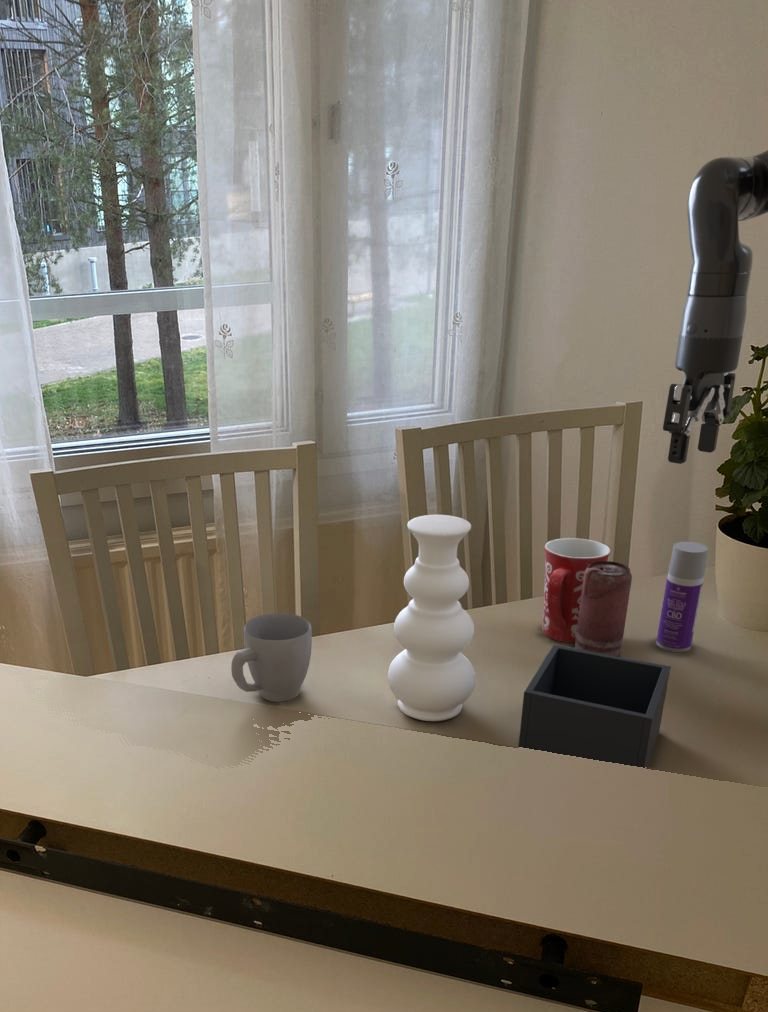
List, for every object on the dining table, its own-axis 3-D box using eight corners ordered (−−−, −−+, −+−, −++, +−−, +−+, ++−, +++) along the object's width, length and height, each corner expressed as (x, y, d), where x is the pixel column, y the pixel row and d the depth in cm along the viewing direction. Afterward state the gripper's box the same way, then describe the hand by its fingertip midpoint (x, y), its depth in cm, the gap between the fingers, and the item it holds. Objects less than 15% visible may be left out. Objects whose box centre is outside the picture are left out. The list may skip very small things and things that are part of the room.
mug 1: (282, 670, 127) (280, 607, 123) (326, 692, 121) (325, 626, 117) (214, 699, 120) (210, 633, 116) (257, 724, 114) (254, 655, 110)
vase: (372, 698, 119) (376, 514, 109) (445, 682, 123) (456, 503, 112) (411, 738, 110) (420, 542, 99) (489, 720, 114) (505, 529, 103)
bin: (659, 732, 110) (670, 666, 106) (640, 790, 99) (652, 719, 96) (546, 707, 116) (553, 644, 112) (517, 760, 105) (523, 691, 102)
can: (563, 655, 129) (574, 563, 123) (600, 648, 131) (612, 556, 125) (590, 674, 124) (603, 578, 118) (628, 665, 126) (642, 571, 120)
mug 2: (551, 615, 142) (560, 533, 136) (608, 629, 137) (620, 544, 131) (514, 643, 133) (522, 557, 128) (574, 660, 128) (585, 570, 122)
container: (658, 650, 130) (675, 551, 124) (654, 637, 134) (670, 540, 128) (693, 653, 129) (712, 553, 123) (688, 639, 133) (706, 542, 127)
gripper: (714, 339, 110) (694, 471, 117) (764, 328, 119) (742, 451, 126) (656, 335, 115) (639, 462, 122) (707, 325, 124) (689, 444, 131)
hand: (691, 456), depth 124 cm, fingers open, 8 cm apart
